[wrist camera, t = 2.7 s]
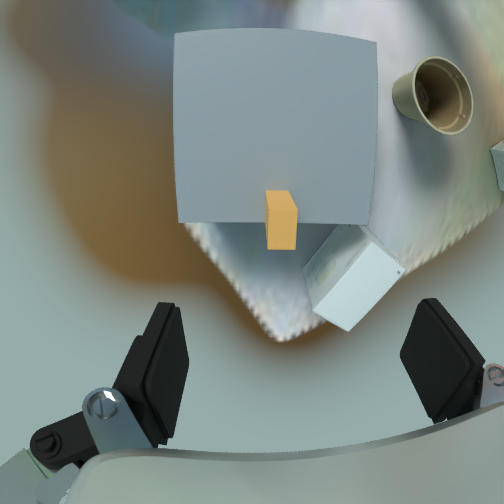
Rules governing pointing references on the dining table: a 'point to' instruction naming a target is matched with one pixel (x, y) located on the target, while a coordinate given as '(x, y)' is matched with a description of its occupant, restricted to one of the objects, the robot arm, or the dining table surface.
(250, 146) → the lid
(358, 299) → the skincare box
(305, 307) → the dining table surface
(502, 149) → the skincare box
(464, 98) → the flower pot
